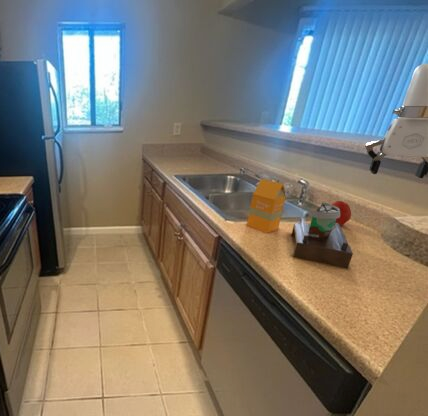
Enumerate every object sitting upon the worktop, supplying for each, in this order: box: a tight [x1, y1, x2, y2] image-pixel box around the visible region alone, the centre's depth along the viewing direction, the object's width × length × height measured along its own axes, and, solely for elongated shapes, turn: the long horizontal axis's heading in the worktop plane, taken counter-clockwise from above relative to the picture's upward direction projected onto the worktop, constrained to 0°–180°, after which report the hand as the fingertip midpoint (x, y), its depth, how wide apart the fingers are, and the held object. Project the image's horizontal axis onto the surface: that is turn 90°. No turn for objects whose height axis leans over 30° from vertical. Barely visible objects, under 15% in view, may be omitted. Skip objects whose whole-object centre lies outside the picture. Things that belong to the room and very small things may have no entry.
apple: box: [330, 200, 352, 227], centre depth 113 cm, size 8×8×11 cm
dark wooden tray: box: [291, 217, 354, 270], centre depth 94 cm, size 14×19×8 cm
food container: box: [308, 201, 340, 240], centre depth 91 cm, size 12×6×10 cm, turn 133°
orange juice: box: [246, 178, 287, 234], centre depth 109 cm, size 8×9×20 cm
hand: (395, 175), depth 80 cm, fingers open, 9 cm apart
